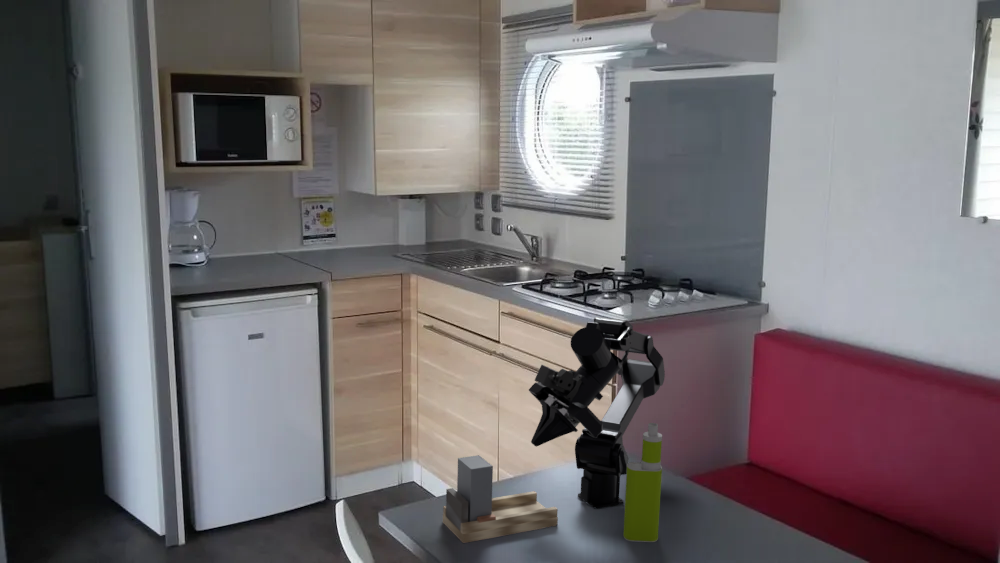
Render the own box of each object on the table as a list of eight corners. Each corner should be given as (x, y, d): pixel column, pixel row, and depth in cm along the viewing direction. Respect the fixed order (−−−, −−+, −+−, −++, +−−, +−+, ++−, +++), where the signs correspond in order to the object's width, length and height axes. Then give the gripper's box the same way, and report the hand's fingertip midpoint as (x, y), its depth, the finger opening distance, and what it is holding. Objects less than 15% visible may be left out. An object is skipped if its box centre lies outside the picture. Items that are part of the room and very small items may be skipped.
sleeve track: (533, 506, 162) (534, 472, 161) (557, 525, 154) (558, 490, 153) (442, 522, 154) (443, 486, 153) (463, 543, 146) (464, 506, 145)
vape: (660, 542, 148) (666, 428, 145) (624, 541, 149) (630, 427, 146) (657, 532, 152) (663, 421, 149) (622, 531, 152) (628, 420, 149)
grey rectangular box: (477, 509, 155) (479, 455, 153) (491, 522, 150) (492, 465, 148) (456, 513, 153) (457, 458, 152) (469, 525, 148) (471, 469, 147)
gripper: (540, 339, 163) (483, 401, 160) (590, 361, 146) (528, 432, 144) (575, 377, 168) (521, 439, 165) (628, 403, 151) (569, 472, 148)
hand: (533, 444), depth 155 cm, fingers closed
